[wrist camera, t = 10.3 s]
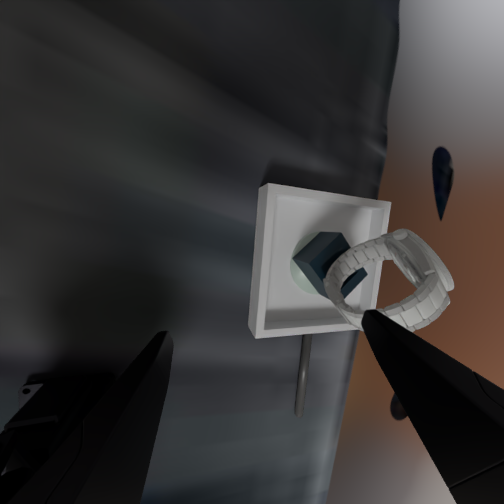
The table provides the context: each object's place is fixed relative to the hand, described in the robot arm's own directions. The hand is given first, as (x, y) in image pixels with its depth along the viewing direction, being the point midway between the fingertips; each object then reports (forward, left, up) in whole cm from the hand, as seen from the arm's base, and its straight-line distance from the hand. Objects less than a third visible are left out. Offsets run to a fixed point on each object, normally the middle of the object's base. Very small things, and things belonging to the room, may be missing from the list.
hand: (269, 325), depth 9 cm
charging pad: (-5, -10, -12) cm, 16 cm away
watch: (+1, -10, -11) cm, 15 cm away
